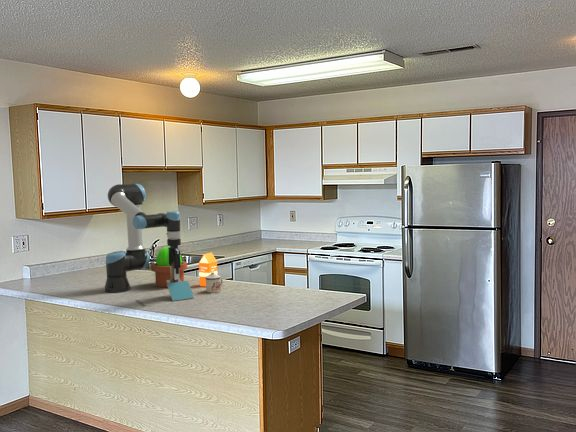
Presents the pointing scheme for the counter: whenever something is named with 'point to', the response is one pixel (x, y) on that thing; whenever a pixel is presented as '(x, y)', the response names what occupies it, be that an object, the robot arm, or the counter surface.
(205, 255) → the orange juice
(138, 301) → the rubber tool mat
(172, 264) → the steel trowel
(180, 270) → the potted cactus
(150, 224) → the robot arm
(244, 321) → the counter surface
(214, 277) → the teacup with lid
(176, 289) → the ceramic tile
